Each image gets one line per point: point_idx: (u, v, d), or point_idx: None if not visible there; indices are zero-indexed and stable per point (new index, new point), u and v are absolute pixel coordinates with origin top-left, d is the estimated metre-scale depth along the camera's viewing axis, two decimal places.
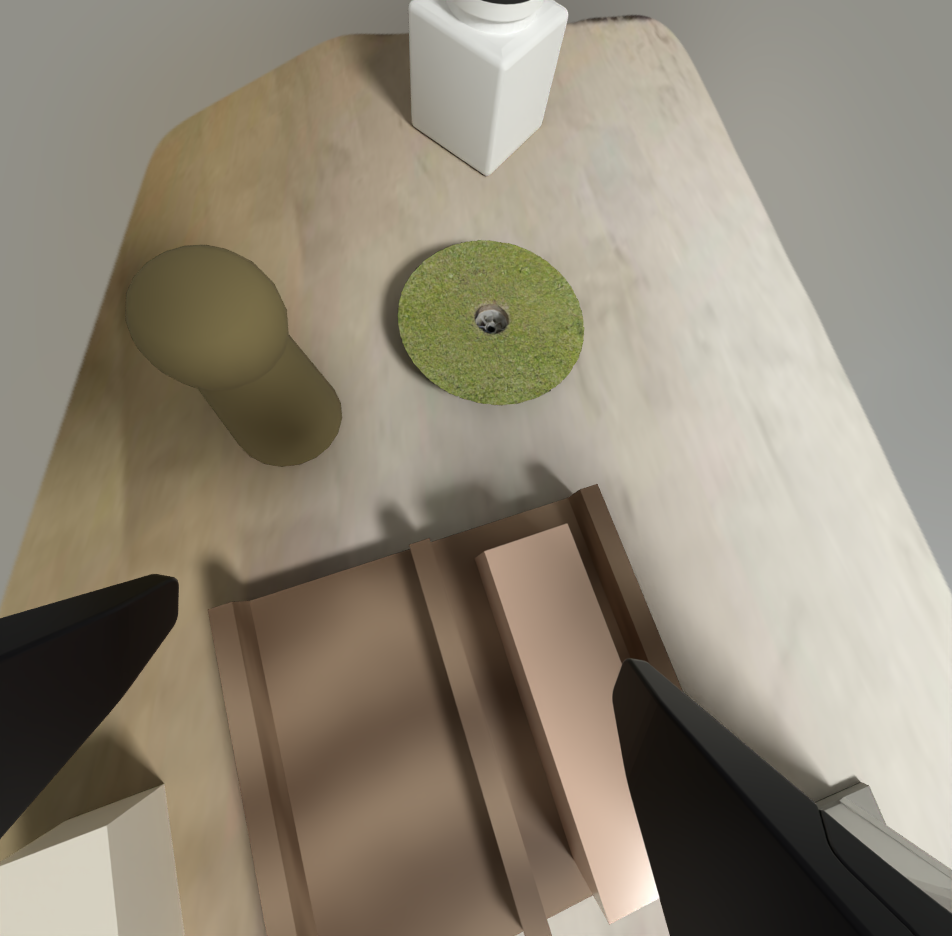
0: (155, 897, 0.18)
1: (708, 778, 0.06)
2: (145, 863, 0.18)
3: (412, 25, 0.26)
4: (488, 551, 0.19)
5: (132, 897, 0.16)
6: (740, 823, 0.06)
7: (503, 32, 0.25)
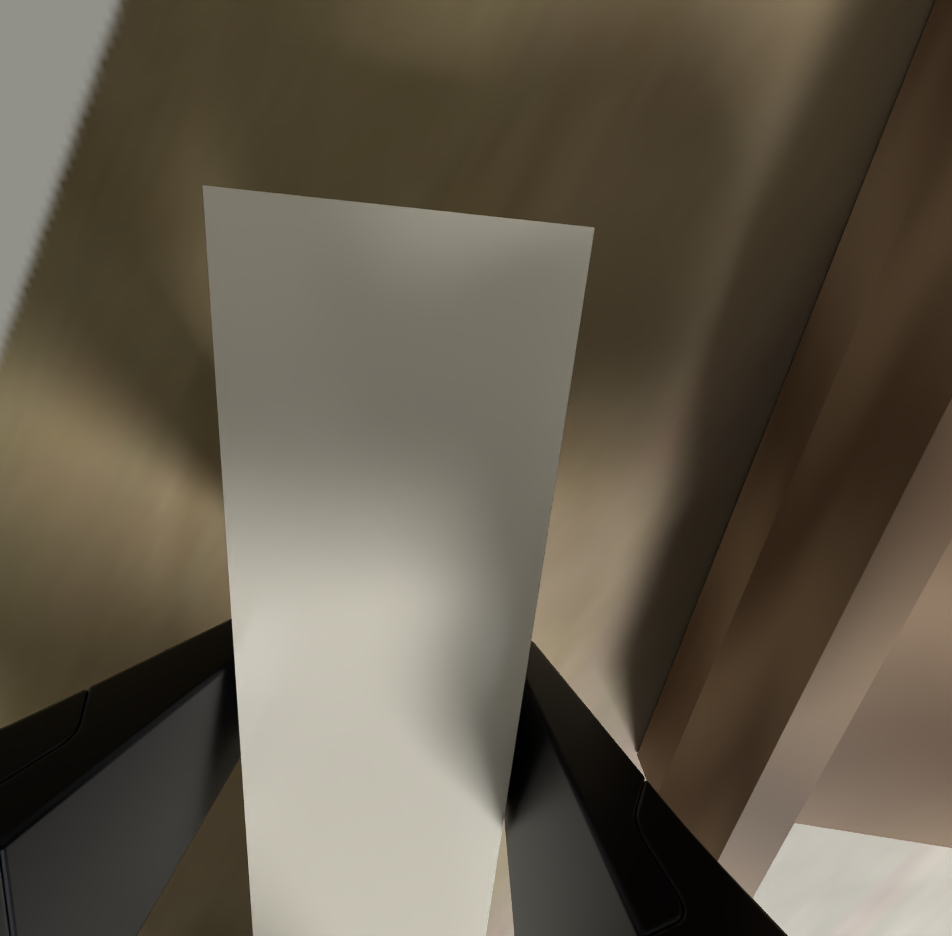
0: None
1: (545, 752, 0.06)
2: None
3: None
4: None
5: None
6: (561, 795, 0.05)
7: None
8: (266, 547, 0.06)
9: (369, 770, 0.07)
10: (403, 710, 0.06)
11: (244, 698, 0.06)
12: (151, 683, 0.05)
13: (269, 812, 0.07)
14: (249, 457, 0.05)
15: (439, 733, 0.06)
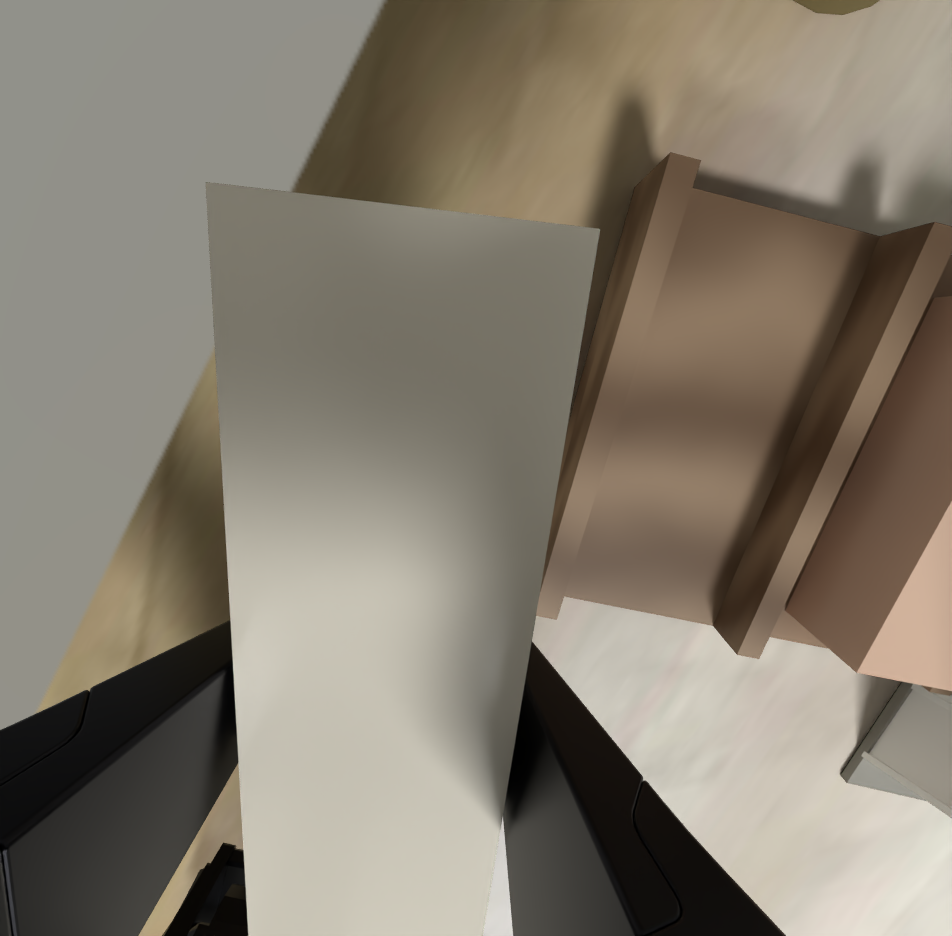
0: None
1: (544, 751, 0.06)
2: None
3: None
4: None
5: None
6: (559, 794, 0.05)
7: None
8: (265, 547, 0.06)
9: (368, 771, 0.07)
10: (401, 712, 0.06)
11: (242, 698, 0.06)
12: (153, 683, 0.05)
13: (265, 813, 0.07)
14: (249, 456, 0.05)
15: (438, 735, 0.06)
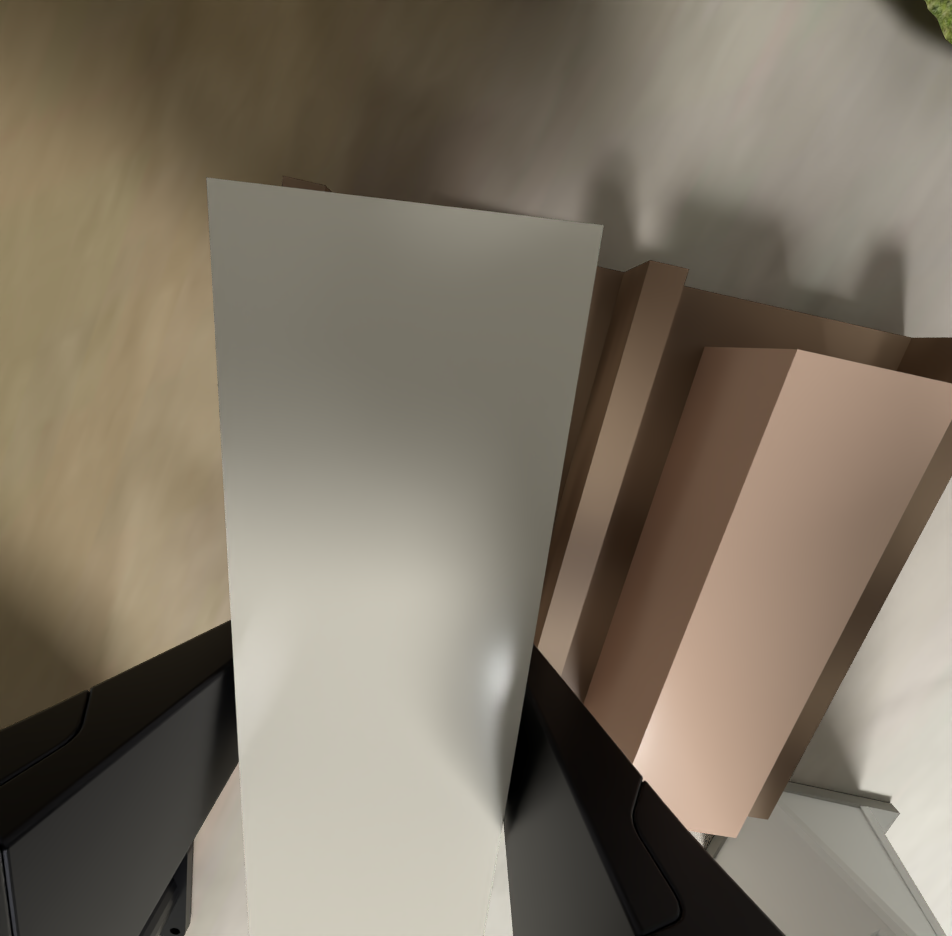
0: None
1: (544, 751, 0.06)
2: None
3: None
4: (804, 354, 0.09)
5: None
6: (559, 795, 0.05)
7: None
8: (266, 545, 0.05)
9: (369, 771, 0.06)
10: (402, 712, 0.06)
11: (243, 698, 0.06)
12: (153, 683, 0.05)
13: (266, 813, 0.07)
14: (250, 454, 0.05)
15: (440, 735, 0.06)
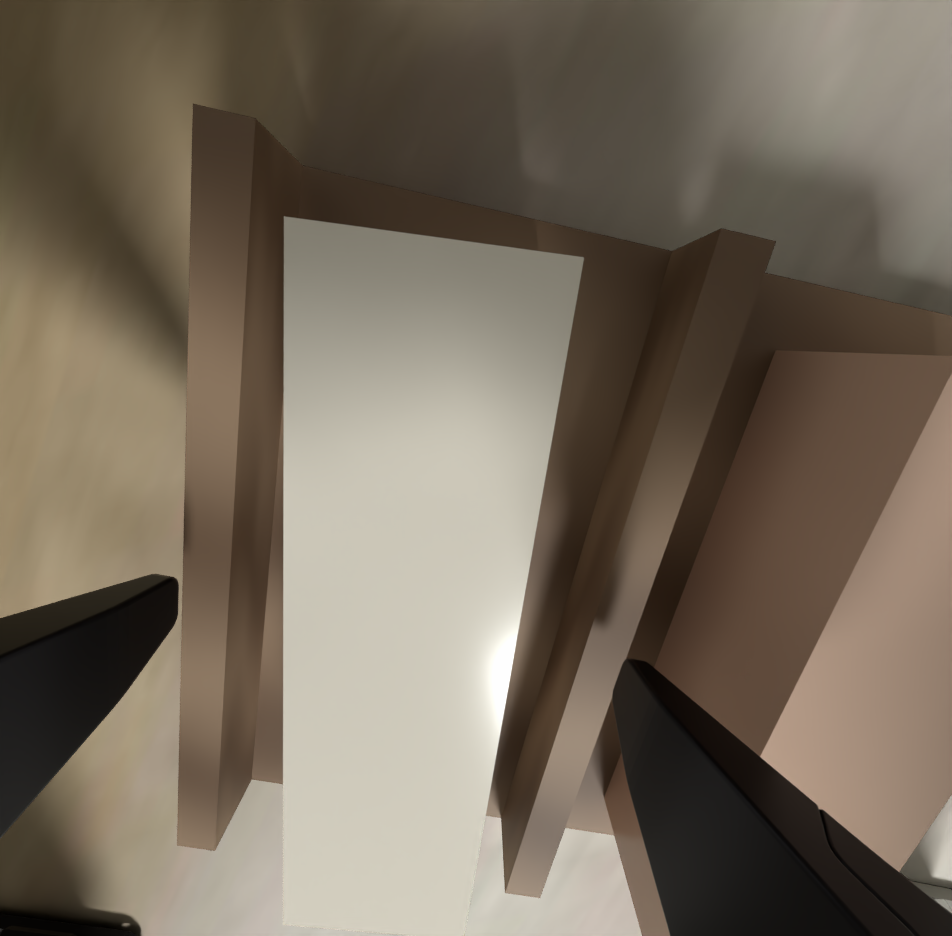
0: None
1: (708, 778, 0.06)
2: None
3: None
4: None
5: None
6: (740, 823, 0.06)
7: None
8: (315, 503, 0.07)
9: (389, 694, 0.08)
10: (419, 644, 0.08)
11: (290, 630, 0.08)
12: None
13: (303, 730, 0.08)
14: (306, 429, 0.07)
15: (448, 664, 0.08)
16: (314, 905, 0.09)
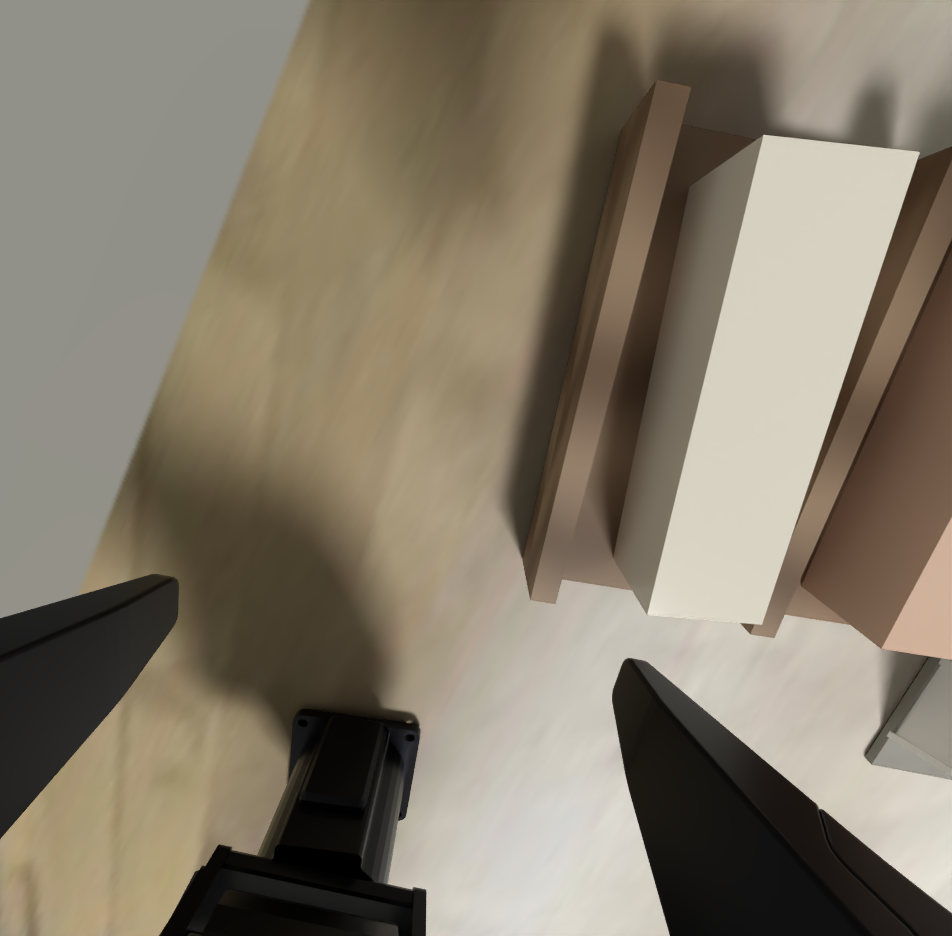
0: None
1: (708, 778, 0.06)
2: None
3: None
4: None
5: None
6: (740, 823, 0.06)
7: None
8: (739, 306, 0.12)
9: (754, 435, 0.13)
10: (780, 399, 0.13)
11: (705, 391, 0.13)
12: None
13: (696, 463, 0.13)
14: (746, 259, 0.12)
15: (794, 412, 0.13)
16: (671, 598, 0.15)
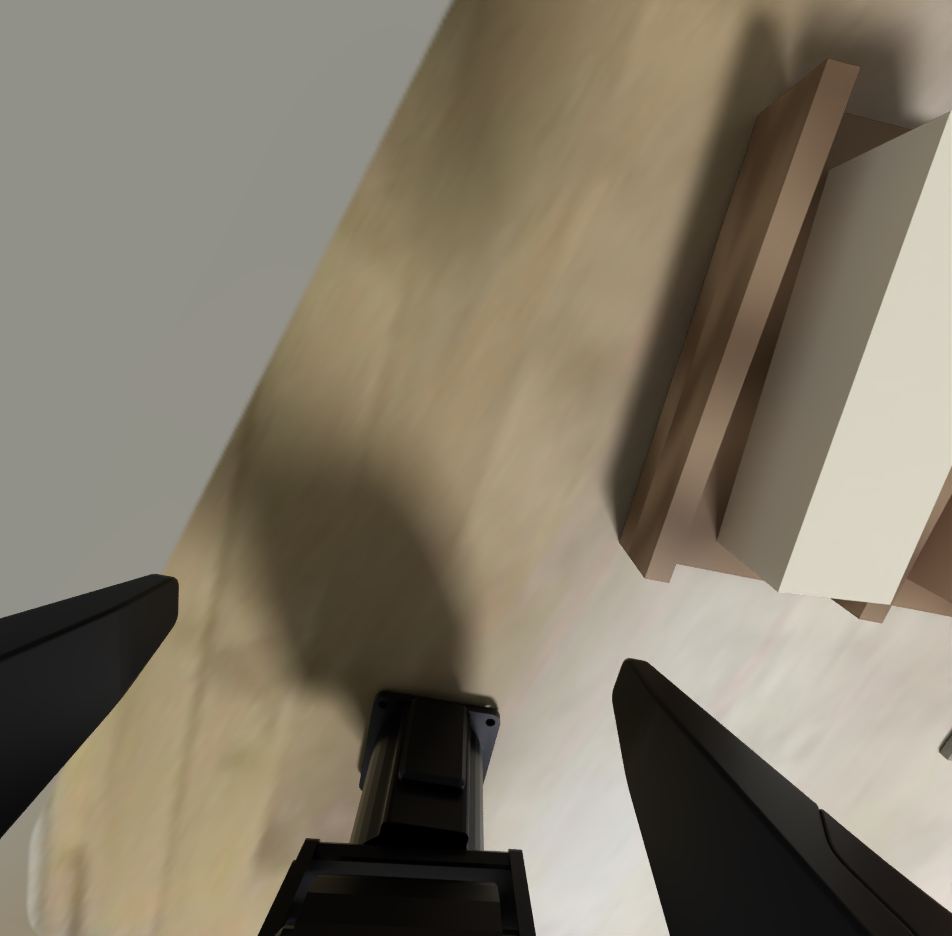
0: None
1: (708, 778, 0.06)
2: None
3: None
4: None
5: None
6: (740, 823, 0.06)
7: None
8: (906, 281, 0.12)
9: (906, 411, 0.13)
10: (935, 375, 0.13)
11: (862, 365, 0.13)
12: None
13: (845, 437, 0.14)
14: (919, 234, 0.12)
15: (947, 389, 0.13)
16: (803, 576, 0.15)
